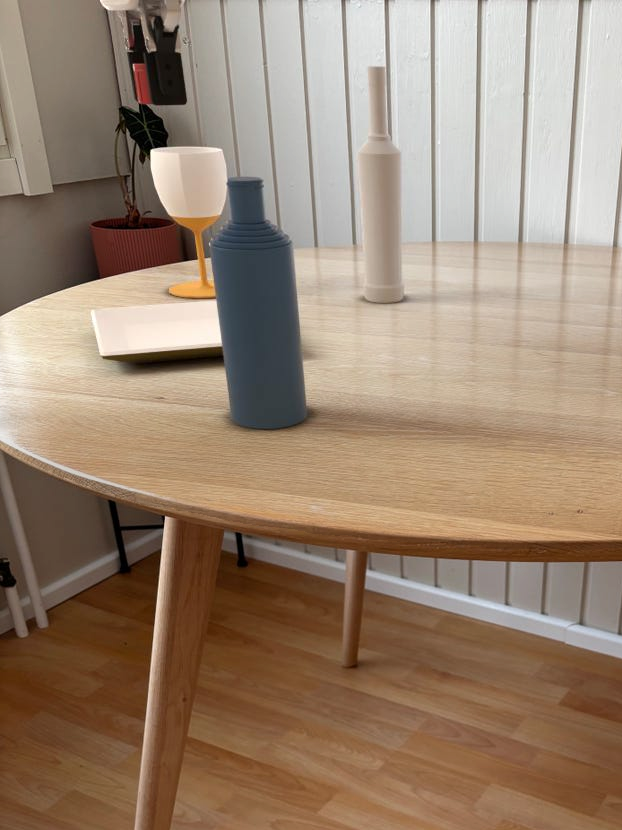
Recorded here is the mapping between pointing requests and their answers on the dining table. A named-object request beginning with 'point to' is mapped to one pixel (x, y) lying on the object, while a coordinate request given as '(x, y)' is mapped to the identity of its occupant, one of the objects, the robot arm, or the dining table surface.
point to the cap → (141, 84)
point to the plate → (158, 332)
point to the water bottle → (258, 313)
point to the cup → (191, 199)
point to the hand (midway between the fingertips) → (160, 101)
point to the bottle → (380, 200)
